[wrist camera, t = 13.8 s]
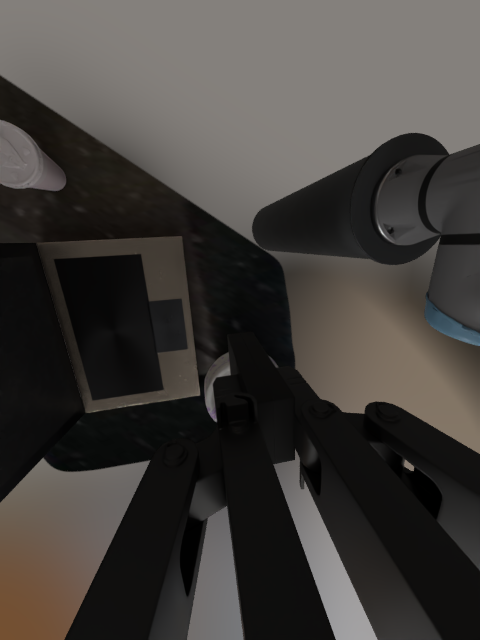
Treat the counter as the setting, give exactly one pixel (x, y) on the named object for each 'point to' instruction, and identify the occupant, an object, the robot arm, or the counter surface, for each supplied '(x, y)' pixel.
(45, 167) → the smoothie
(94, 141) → the counter surface
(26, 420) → the laptop screen
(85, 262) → the laptop
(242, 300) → the counter surface
